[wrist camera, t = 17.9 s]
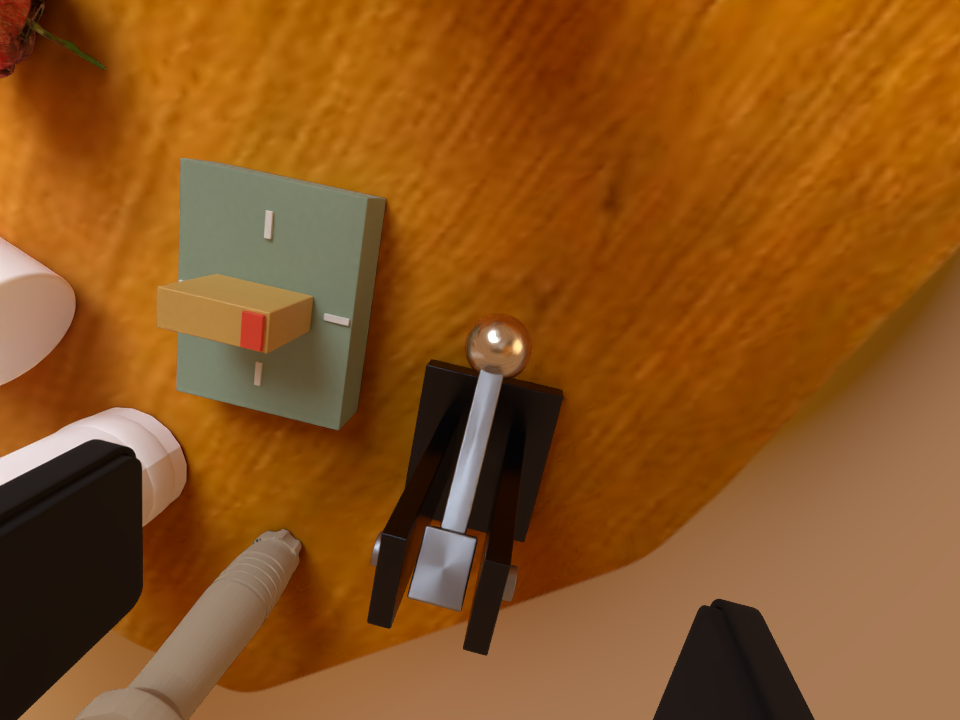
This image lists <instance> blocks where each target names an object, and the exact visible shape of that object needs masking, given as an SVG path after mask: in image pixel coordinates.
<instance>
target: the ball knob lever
mask: <svg viewBox="0 0 960 720" xmlns="http://www.w3.org/2000/svg"><path fill="white" fill-rule="evenodd" d="M465 353H466V357H467V360H468V362H469V364H470V366H471V367H472V368H473V369H474V370H475V371H476V372H477V373H478V374H479V377H478V381H477V385H476V389H475V393H474V397H473V401H472V405H471V408H470V412H469V416H468V420H467V424H466V428H465V432H464V436H463V440H462V444H461V448H460V452H459V456H458V460H457V464H456V467H455V471H454V475H453V479H452V483H451V487H450V491H449V495H448V499H447V503H446V507H445V511H444V515H443V519H442V522H441V526H440V527H441V528H439V527H435V526H426V527H425V530H424V534H423V538H422V542H421V545H420V549H419V553H418V557H417V561H416V564H415V568H414V572H413V576H412V580H411V583H410V587H409V591H408V595H407V597H408V598H410V599H414V600H417V601H421V602H425V603H429V604H432V605H436V606H440V607H444V608H447V609H451V610H455V611H458V612H460V611H461V610H462V606H463V602H464V597H465V593H466V589H467V584H468V580H469V576H470V571H471V567H472V563H473V558H474V554H475V550H476V545H477V541H478V539H477V537H474V536H470V535H466V532H467V528H468V523H469V519H470V515H471V511H472V507H473V503H474V498H475V494H476V490H477V486H478V482H479V477H480V473H481V469H482V465H483V461H484V456H485V452H486V448H487V444H488V440H489V436H490V431H491V427H492V423H493V419H494V415H495V410H496V406H497V402H498V398H499V394H500V390H501V385H502V381H503V380H508V379H511V378H513V377H515V376H517V375H518V374H519V373H521V372H522V371H523V370H524V369H525V367H526V366H527V364H528V362H529V360H530V358H531V354H532V340H531V337H530V334H529V332H528V330H527V328H526V327H525V326H524V325H523V324H522V323H521V322H520V321H519V320H518V319H516V318H514V317H512V316H510V315H507V314H491V315H488V316H485V317H483V318H481V319H480V320H478V321H477V322H476V323H475V324H474V325H473V326H472V328H471V329H470V331H469V333H468V335H467V337H466V342H465Z"/></svg>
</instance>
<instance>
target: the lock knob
mask: <svg viewBox="0 0 960 720" xmlns="http://www.w3.org/2000/svg"><path fill="white" fill-rule="evenodd" d="M312 303H313V296H311V295H307V294H302V293H298V292H294V291H289V290H285V289H281V288H276V287H272V286H268V285H263V284H259V283H255V282H251V281H246V280H242V279H238V278H233V277H229V276H225V275H220V274H214V275H209V276H204V277H200V278H195V279H190V280H185V281H181V282H176V283H171V284H166V285H162V286H158V287H157V327H158V328H163V329H167V330H171V331H175V332H179V333H183V334H187V335H192V336H196V337H200V338H204V339H208V340H212V341H216V342H220V343H225V344H229V345H233V346H237V347H241V348H245V349H249V350H254V351H258V352H262V353H269V352H271V351H273V350H275V349H277V348H279V347H280V346H282V345H284V344H286V343H288V342H290V341H292V340H294V339H296V338H298V337H299V336H301V335H303V334H305V333H307V332H309V331H310V323H311V313H312Z"/></svg>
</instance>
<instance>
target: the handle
mask: <svg viewBox="0 0 960 720" xmlns="http://www.w3.org/2000/svg"><path fill="white" fill-rule="evenodd" d="M301 548H302V546H301V543H300V541H299V540H297V539H295V538H294V537H293V536H292V535H291V534H290V532H289V531H287V530H285V529H282V530H281V531H278V532H271V531H266V532H265V533H263V534H262V535H260V536H259V537H258V538H257V539H256V540H255V541H254V542H253V544H252V545H251V546H250V547H249V548H247V549H246V550H245V551H244V552H242V553H241V554H240V555H239V556H238V557H237V558H236V559H235V560H234V561H233V562H232V563H231V564H230V565H229V566H228V567H227V568H226V569H225V570H224V571H223V572H222V573H221V574H220V575H219V576H218V577H217V579H216V580H215V581H214V582H213V583H212V584H211V585H210V586H209V587H208V588H207V589H206V591H205V592H204V593H203V594H202V596H201V597H200V598H199V599H198V601H197V602H196V603H195V604H194V606H193V607H192V608H191V610H190V611H189V612H188V613H187V615H186V616H185V617H184V618H183V620H182V621H181V622H180V623H179V625H178V626H177V627H176V629H175V630H174V631H173V632H172V634H171V635H170V636H169V637H168V639H167V640H166V641H165V642H164V644H163V645H162V646H161V647H160V649H159V650H158V651H157V652H156V654H155V655H154V656H153V657H152V659H151V660H150V661H149V662H148V663H147V665H146V666H145V667H144V668H143V670H142V671H141V672H140V674H139V675H138V676H137V677H136V678H135V680H134V681H133V682H132V683H131V684H130V685H129V686H128V687H127V688H126V689H115V690H110V691H107V692H104V693H102V694H100V695H99V696H97V697H96V698H95V699H94V700H93V701H92V702H91V703H90V704H89V705H87V706H86V708H84V709H83V710H82V711H81V712H80V713H79V714H78V716H76V718H75V719H74V720H189V719H190V717H191V716H192V714H193V713H194V712H195V710H196V709H197V707H198V706H199V705H200V704H201V702H202V701H203V700H204V699H205V697H206V696H207V695H208V694H209V692H210V691H211V690H212V688H213V687H214V686H215V684H216V683H217V682H218V681H219V679H220V678H221V677H222V675H223V674H224V673H225V672H226V670H227V669H228V668H229V666H230V665H231V664H232V663H233V661H234V660H235V659H236V658H237V656H238V655H239V654H240V652H241V651H242V650H243V649H244V647H245V646H246V645H247V644H248V642H249V641H250V640H251V638H252V637H253V636H254V635H255V633H256V632H257V631H258V630H259V628H260V627H261V625H262V624H263V622H264V621H265V620H266V618H267V616H268V615H269V614H270V612H271V611H272V609H273V608H274V606H275V604H276V603H277V601H278V599H279V598H280V596H281V594H282V593H283V591H284V589H285V588H286V586H287V584H288V582H289V580H290V577H291V575H292V574H293V573H294V571H295V569H296V568H297V566H298V563H299V561H300V558H299V552H300V550H301Z"/></svg>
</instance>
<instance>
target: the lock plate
mask: <svg viewBox="0 0 960 720" xmlns="http://www.w3.org/2000/svg"><path fill="white" fill-rule="evenodd" d="M385 204H386V198H382V197H378V196H373V195H368V194H364V193H359V192H354V191H350V190H345V189H340V188H336V187H331V186H326V185H321V184H317V183H312V182H307V181H303V180H298V179H293V178H289V177H284V176H279V175H275V174H270V173H265V172H261V171H256V170H251V169H247V168H242V167H237V166H233V165H228V164H223V163H219V162H212V161H203V160H195V159H187V158H181V167H180V225H179V282H181V281H185V280H190V279H195V278H200V277H204V276H209V275H214V274H220V275H225V276H229V277H233V278H238V279H242V280H246V281H251V282H255V283H259V284H263V285H268V286H272V287H276V288H281V289H285V290H289V291H294V292H298V293H302V294H307V295H311V296H313V303H312V313H311V323H310V331H309V332H307V333H305V334H303V335H301V336H299V337H298V338H296V339H294V340H292V341H290V342H288V343H286V344H284V345H282V346H280V347H279V348H277V349H275V350H273V351H271V352H269V353H262V352H258V351H254V350H249V349H245V348H241V347H237V346H233V345H229V344H225V343H220V342H216V341H212V340H208V339H204V338H200V337H196V336H192V335H187V334H183V333H179V332H178V339H177V391H181V392H185V393H189V394H193V395H197V396H201V397H205V398H209V399H213V400H217V401H221V402H225V403H229V404H233V405H237V406H241V407H245V408H249V409H253V410H257V411H262V412H266V413H270V414H274V415H278V416H282V417H286V418H290V419H294V420H298V421H302V422H306V423H310V424H314V425H318V426H322V427H326V428H330V429H334V430H340V429H341V428H342V427H343V426H344V424H345V423H346V422H347V421H348V420H349V419H350V418H351V417H352V416H353V415H354V414H355V413H356V412H357V409H358V402H359V395H360V387H361V380H362V373H363V365H364V358H365V351H366V343H367V336H368V329H369V321H370V314H371V307H372V299H373V292H374V285H375V277H376V270H377V262H378V255H379V248H380V240H381V233H382V226H383V218H384V211H385Z"/></svg>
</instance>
